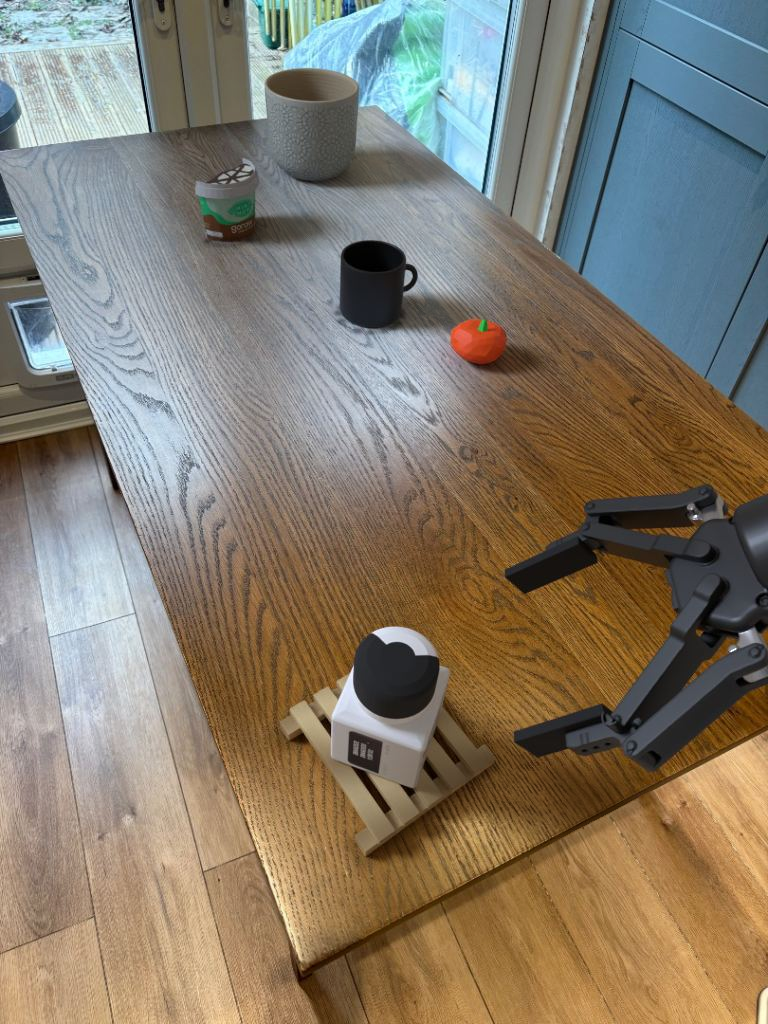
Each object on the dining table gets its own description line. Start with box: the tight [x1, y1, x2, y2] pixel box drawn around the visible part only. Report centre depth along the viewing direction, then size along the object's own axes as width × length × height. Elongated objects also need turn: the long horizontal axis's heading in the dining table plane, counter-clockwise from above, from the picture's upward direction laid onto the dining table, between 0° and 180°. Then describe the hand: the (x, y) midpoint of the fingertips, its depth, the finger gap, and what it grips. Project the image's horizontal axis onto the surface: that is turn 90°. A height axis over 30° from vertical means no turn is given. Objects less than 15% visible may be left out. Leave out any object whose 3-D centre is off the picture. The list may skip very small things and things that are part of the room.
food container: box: [194, 157, 260, 243], centre depth 124 cm, size 12×6×10 cm, turn 147°
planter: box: [264, 67, 360, 182], centre depth 140 cm, size 17×17×15 cm
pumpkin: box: [449, 318, 508, 365], centre depth 105 cm, size 7×8×6 cm
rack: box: [279, 672, 497, 857], centre depth 67 cm, size 14×14×2 cm
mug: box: [339, 239, 419, 328], centre depth 111 cm, size 9×12×9 cm
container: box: [330, 626, 451, 789], centre depth 61 cm, size 8×8×13 cm
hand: (519, 656), depth 54 cm, fingers open, 13 cm apart
